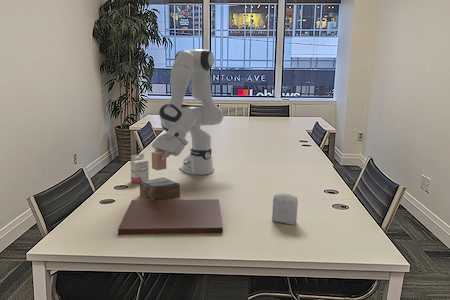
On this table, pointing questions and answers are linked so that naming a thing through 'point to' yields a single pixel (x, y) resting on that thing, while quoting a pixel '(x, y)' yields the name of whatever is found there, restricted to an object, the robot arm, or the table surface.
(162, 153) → the terracotta block
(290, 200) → the grey tombstone
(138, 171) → the ink cartridge box
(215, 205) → the brown wooden board
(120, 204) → the table surface
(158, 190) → the walnut pedestal
